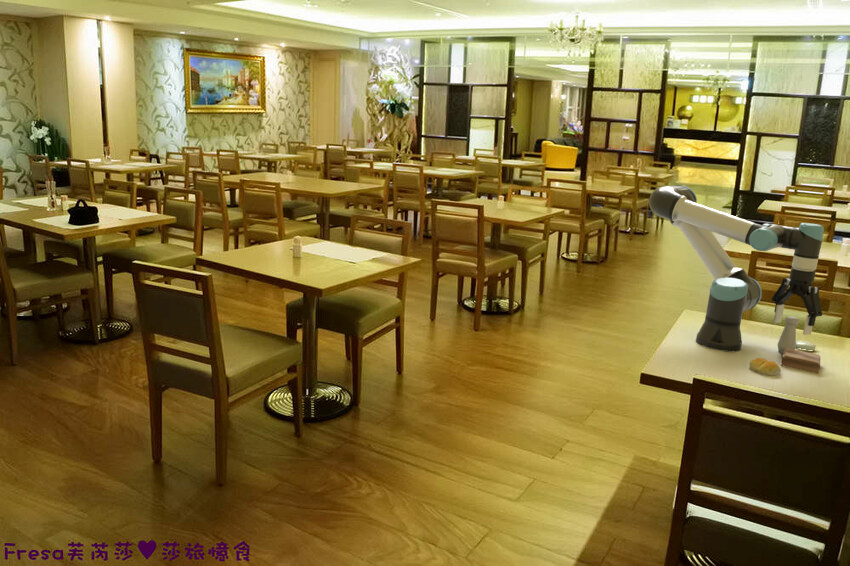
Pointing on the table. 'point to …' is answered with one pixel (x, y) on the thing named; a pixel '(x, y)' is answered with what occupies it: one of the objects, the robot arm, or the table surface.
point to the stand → (801, 360)
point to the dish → (805, 345)
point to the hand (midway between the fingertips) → (791, 328)
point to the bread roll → (765, 367)
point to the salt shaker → (788, 334)
